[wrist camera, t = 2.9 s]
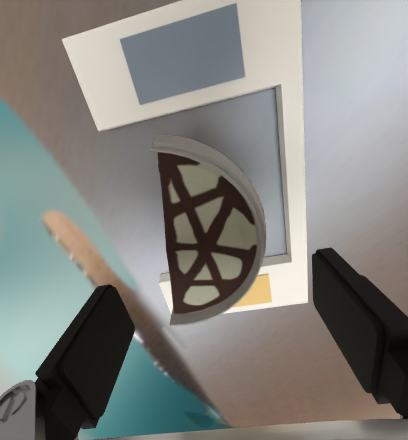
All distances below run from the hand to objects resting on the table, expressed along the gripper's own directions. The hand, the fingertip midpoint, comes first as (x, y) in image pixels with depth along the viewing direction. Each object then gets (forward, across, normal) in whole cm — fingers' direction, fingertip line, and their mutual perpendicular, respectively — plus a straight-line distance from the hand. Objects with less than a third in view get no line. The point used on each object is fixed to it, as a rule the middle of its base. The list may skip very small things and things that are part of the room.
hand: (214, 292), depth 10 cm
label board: (+12, 0, -1) cm, 12 cm away
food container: (+12, 0, -1) cm, 12 cm away
